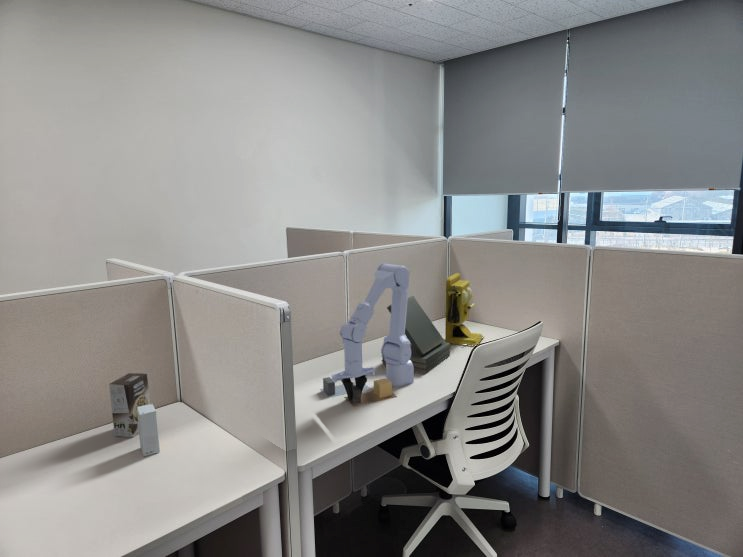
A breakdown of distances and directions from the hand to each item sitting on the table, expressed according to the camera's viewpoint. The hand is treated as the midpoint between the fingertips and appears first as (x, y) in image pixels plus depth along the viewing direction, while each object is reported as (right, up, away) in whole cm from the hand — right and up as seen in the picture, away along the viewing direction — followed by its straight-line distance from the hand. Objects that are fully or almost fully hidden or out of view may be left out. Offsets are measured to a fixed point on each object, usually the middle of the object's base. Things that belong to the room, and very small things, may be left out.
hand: (354, 398), depth 161 cm
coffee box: (-65, -6, -15) cm, 67 cm away
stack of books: (+24, +5, +40) cm, 47 cm away
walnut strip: (+5, -1, +3) cm, 6 cm away
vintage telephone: (+49, +10, +64) cm, 81 cm away
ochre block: (+9, 0, +5) cm, 11 cm away
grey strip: (-4, 0, +9) cm, 10 cm away
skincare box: (-55, -8, -27) cm, 62 cm away
